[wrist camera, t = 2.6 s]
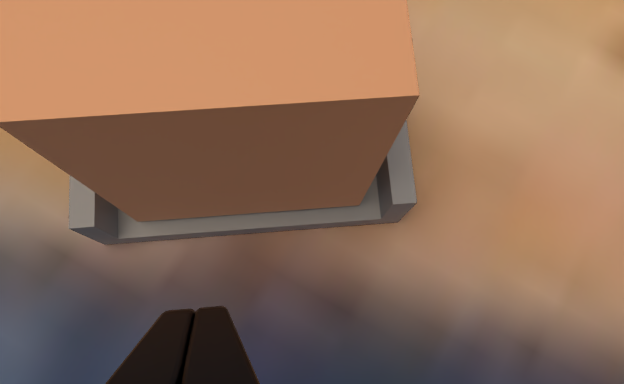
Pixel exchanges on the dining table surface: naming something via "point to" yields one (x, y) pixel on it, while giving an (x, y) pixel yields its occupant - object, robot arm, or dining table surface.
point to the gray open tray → (372, 210)
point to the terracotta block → (209, 98)
